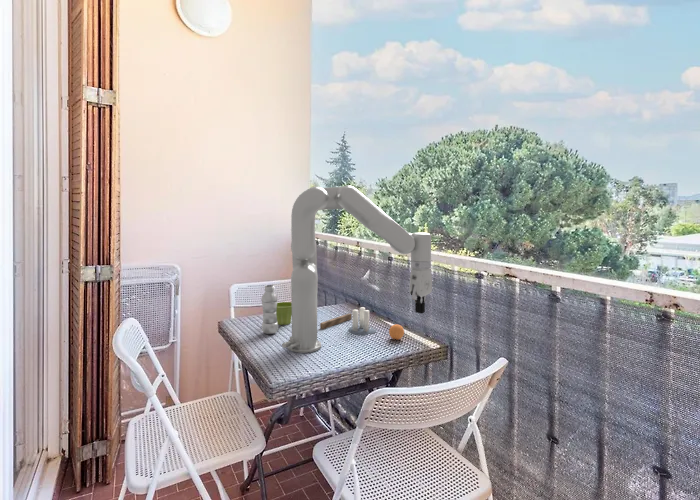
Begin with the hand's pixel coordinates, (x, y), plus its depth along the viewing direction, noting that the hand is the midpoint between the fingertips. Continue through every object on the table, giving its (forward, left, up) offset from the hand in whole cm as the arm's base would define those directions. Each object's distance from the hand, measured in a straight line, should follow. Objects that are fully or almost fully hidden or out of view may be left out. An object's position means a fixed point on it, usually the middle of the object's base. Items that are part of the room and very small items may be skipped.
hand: (419, 312), depth 148 cm
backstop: (0, +41, -13) cm, 43 cm away
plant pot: (-15, +60, -13) cm, 63 cm away
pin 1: (-3, +29, -13) cm, 32 cm away
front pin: (0, +25, -13) cm, 28 cm away
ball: (0, +10, -10) cm, 14 cm away
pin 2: (+2, +29, -13) cm, 32 cm away
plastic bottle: (-28, +54, -13) cm, 62 cm away
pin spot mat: (0, +27, -13) cm, 30 cm away
